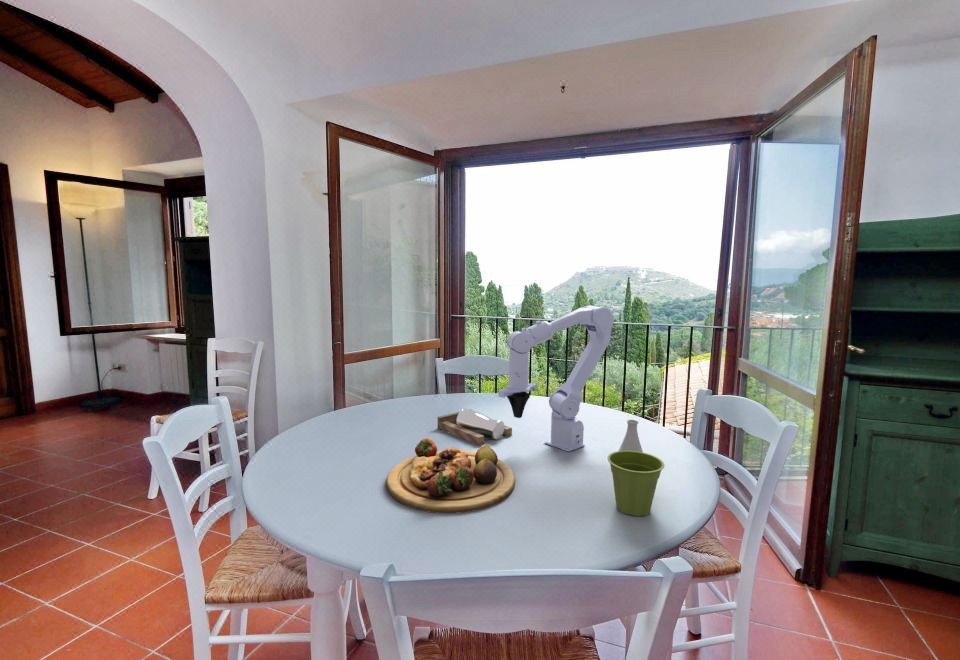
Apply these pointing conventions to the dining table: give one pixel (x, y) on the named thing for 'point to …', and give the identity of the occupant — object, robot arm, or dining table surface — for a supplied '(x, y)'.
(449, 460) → the wooden plate with food
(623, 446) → the flask
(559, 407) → the robot arm
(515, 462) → the dining table surface
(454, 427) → the cradle
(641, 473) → the plant pot
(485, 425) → the beer glass
